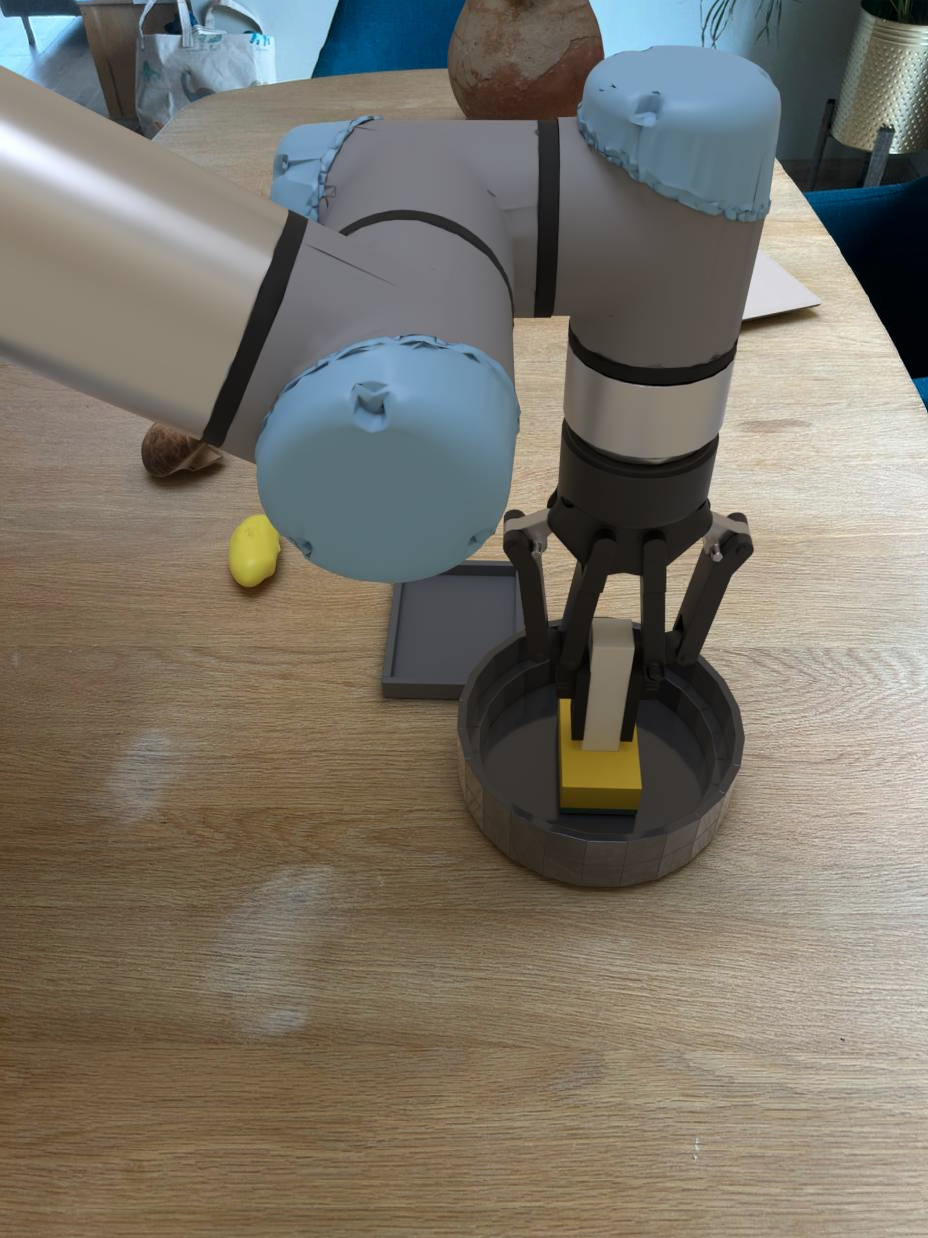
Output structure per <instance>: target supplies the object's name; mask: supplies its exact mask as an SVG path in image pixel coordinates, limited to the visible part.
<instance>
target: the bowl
mask: <svg viewBox="0 0 928 1238" xmlns="http://www.w3.org/2000/svg"><path fill="white" fill-rule="evenodd" d="M593 618H615V619H619V618H617V617H612V616H594V617H593ZM561 621H562V618H558V619H552V620H548V622H549V628H551V629H555V630H558V624H559V625H561ZM632 626H633V636H634V642H640V644H641V622H636V621H632ZM589 635H590V631H589V634H588V638H587V641H589ZM556 665H557V664H556V663H554V662H553V661H550V660H547V661H546V662H544V663H535V662H532V661H531V660H530V658H529V654H528V646H527V639H526V631H525V628H523V630H521V631H519V632H516V633H514V634H512V635H511V636H509V637H508V638H507V639H505V640H504V641H502V642H501V643H499V644H498V645H497V646H495V647H494V648H492V649H491V650H490V651H489V652H487V654H486V655H485V656H484V657H483V658H482V660H481V661H480V662H479V663H478V665H477V666H476V667H475V668H474V669H473V671H472V672H471V673H470V675H469V677H468V679H467V682H466V684H465V687H464V689H463V691H462V694H461V696H460V699H458V705H457V721H456V723H457V724H456V740H457V742H456V744H457V766H458V767H457V769H458V771H457V772H458V779H459V783H460V788H461V792H462V795H463V799H464V803H465V805H466V808H467V809H468V812H470V814H471V816H472V817H473V819H474V821H475V822H476V824H477V825H478V827H479V829H480V830H481V832H482V833H483V834H484V836H485V837H487V838H488V839H489V841H491V842H492V843H493V844H494V845H495V846H496V847H497V848H498V849H499V850H500V851H502V852H503V853H504V854H505V855H506V856H507V857H508V858H510V859H511V860H513V861H515V862H517V863H519V864H521V865H522V866H524V867H526V868H527V869H529V870H532V871H533V872H535V873H537V874H538V875H541V876H542V877H545V878H549V879H553V880H556V881H561V882H564V883H568V884H571V885H575V886H579V887H580V886H582V887H606V888H607V887H608V888H609V887H610V888H621V887H626V886H631V885H636V884H641V883H645V882H651V881H655V880H659V879H660V878H662V877H664V876H666V875H668V874H670V873H671V872H673V871H676V870H677V869H679V868H681V867H683V866H685V865H687V864H688V863H690V862H691V861H692V860H693V859H694V858H695V857H696V856H697V855H698V854H699V853H700V852H701V851H702V850H703V849H705V848H706V846H708V845H709V844H710V843H711V842H712V840H713V839H714V837H715V836H716V833H717V831H718V829H719V828H720V826H721V824H722V822H723V821H724V818H725V816H726V815H727V812H728V808H729V805H730V803H731V799H732V797H733V793H734V789H735V787H736V784H737V780H738V777H739V773H740V770H741V767H742V762H743V755H744V749H745V742H746V735H745V729H744V725H743V724H744V723H743V718H742V713H741V708H740V706H739V704H738V702H737V700H736V698H735V696H734V694H733V692H732V690H731V689H730V686H729V685H728V683H727V681H726V680H725V678H724V677H723V676H722V675H721V674H720V673H719V672H718V670H717V669H716V668H715V667H714V666H713V665H712V664H711V663H710V662H709V660H707V659H706V657H704V656H703V655H702V654H701V653H700V654H699V657H698V659H697V661H696V662H695V663H694V664H692V665H689V666H682V665H680V664H678V663H677V662H672V663H669V664H667V665H666V666H665V670H666V677H665V679H664V680H662V681H660V683H659V688H658V693H657V696H656V697H655V699H654V700H653V701H651V700H639V706H638V712H637V718H636V730H637V741H638V752H639V762H640V773H641V783H642V791H641V796H640V801H639V806H638V812H637V815H626V814H590V813H560V801H559V762H558V723H557V714H558V702H559V698H558V696H557V694H556Z"/></svg>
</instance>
